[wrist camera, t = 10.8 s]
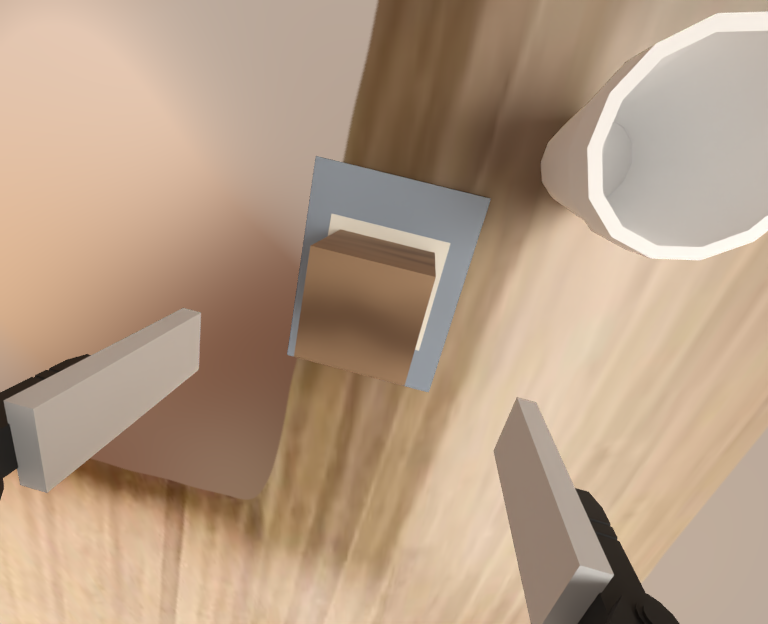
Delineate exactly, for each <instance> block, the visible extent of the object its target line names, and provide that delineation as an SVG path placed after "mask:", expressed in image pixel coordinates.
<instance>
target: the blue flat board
mask: <svg viewBox="0 0 768 624" xmlns="http://www.w3.org/2000/svg"><path fill="white" fill-rule="evenodd" d="M490 200H491V199H490V198H486V197H482V196H478V195H474V194H470V193H466V192H462V191H457V190H453V189H449V188H445V187H441V186H437V185H433V184H429V183H425V182H421V181H417V180H412V179H408V178H404V177H400V176H396V175H392V174H388V173H384V172H380V171H376V170H372V169H367V168H363V167H359V166H355V165H351V164H347V163H343V162H339V161H335V160H331V159H326V158H322V157H318V156H316V159H315V166H314V173H313V180H312V186H311V194H310V200H309V207H308V214H307V221H306V228H305V235H304V242H303V249H302V256H301V263H300V269H299V277H298V283H297V291H296V297H295V304H294V311H293V318H292V325H291V332H290V338H289V346H288V353H287V355H290V356H294V352H295V346H296V339H297V332H298V326H299V319H300V312H301V306H302V299H303V292H304V285H305V279H306V272H307V265H308V259H309V252H310V246H311V245H313V244H314V243H316V242H318V241H320V240H322V239H324V238H326V237H327V236H329V235H331V234H333V233H335V232H337V231H339V230H340V229H341V230H345V231H349V232H353V233H357V234H361V235H365V236H370V237H374V238H378V239H382V240H386V241H390V242H394V243H398V244H402V245H406V246H410V247H414V248H418V249H422V250H426V251H430V252H434V253H435V270H436V278H435V282H434V285H433V289H432V292H431V296H430V299H429V303H428V306H427V310H426V313H425V317H424V320H423V323H422V327H421V330H420V334H419V337H418V341H417V344H416V348H415V351H414V355H413V358H412V362H411V365H410V369H409V372H408V376H407V379H406V383H405V386H406V387H410V388H414V389H418V390H421V391H425V392H429V390H430V387H431V384H432V380H433V377H434V374H435V371H436V368H437V365H438V362H439V359H440V356H441V352H442V349H443V346H444V343H445V340H446V337H447V334H448V331H449V328H450V324H451V321H452V318H453V315H454V312H455V309H456V306H457V303H458V300H459V296H460V293H461V290H462V287H463V284H464V281H465V278H466V275H467V272H468V268H469V265H470V262H471V259H472V256H473V253H474V250H475V247H476V243H477V240H478V237H479V234H480V231H481V228H482V225H483V222H484V219H485V215H486V212H487V209H488V206H489V203H490ZM391 383H392V382H391Z"/></svg>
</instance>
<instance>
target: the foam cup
mask: <svg viewBox="0 0 768 624" xmlns="http://www.w3.org/2000/svg"><path fill="white" fill-rule="evenodd" d="M541 177H542V183H543V184H544V186H545V188H546V189H547V191H548V193H549V194H550V196H551V197H552V198H553V199H554V200H556V201H557V202H559V203H560V204H561V205H563V206H564V207H566V208H567V209H568V210H570V211H571V212H573V213H574V214H576V215H577V216H578V217H580V218H581V219H583V220H584V221H585V222H586V224H587V225H588V227H589V229H590V230H591V231H593V232H595V233H596V234H598V235H600V236H602V237H604V238H606V239H607V240H609V241H611V242H613V243H615V244H617V245H618V246H620V247H622V248H624V249H626V250H629V251H631V252H634V253H637V254H640V255H643V256H645V257H648V258H654V259H681V260H703V259H705V258H708V257H711V256H714V255H717V254H720V253H723V252H725V251H728V250H731V249H734V248H737V247H740V246H743V245H745V244H748V243H751V242H754V241H755V240H757V239H758V238H759V237H760V236H762V235H763V234H764V233H766V232H767V231H768V12H736V13H716V14H714V15H712V16H710V17H708V18H706V19H704V20H702V21H700V22H698V23H696V24H694V25H692V26H690V27H688V28H686V29H684V30H682V31H680V32H678V33H676V34H674V35H672V36H670V37H668V38H666V39H664V40H662V41H660V42H658V43H656V44H654V45H653V46H651V47H649V48H648V49H646V50H645V51H643V52H641V53H640V54H638V55H636V56H635V57H633V58H631V59H630V60H628V61H627V62H625V63H624V64H623V65H622V67H621V68H620V69H619V70H618V71H617V72H616V73H615V74H614V75H613V76H612V77H611V79H610V80H609V81H608V82H607V83H606V84H605V85H604V86H603V87H602V88H601V89H600V90H599V92H598V93H597V94H596V95H595V96H594V97H593V98H592V99H591V100H590V101H589V102H588V103H587V104H586V105H585V106H584V107H583V108H582V109H581V110H580V111H578V112H577V113H576V114H575V115H574V116H573V117H572V118H571V119H570V120H569V121H568V122H567V123H565V125H564V126H563V127H562V128H561V129H560V130H559V131H558V132H557V133H556V134H555V135H554V136H553V138H552V139H551V140H550V141H549V142H548V144H547V146H546V149H545V152H544V154H543V157H542V160H541Z"/></svg>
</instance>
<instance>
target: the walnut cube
mask: <svg viewBox="0 0 768 624" xmlns="http://www.w3.org/2000/svg"><path fill="white" fill-rule="evenodd" d="M435 278H436V270H435V253H434V252H430V251H426V250H422V249H418V248H414V247H410V246H406V245H402V244H398V243H394V242H390V241H386V240H382V239H378V238H374V237H370V236H365V235H361V234H357V233H353V232H349V231H345V230H341V229H340V230H339V231H337V232H335V233H333V234H331V235H329V236H327V237H326V238H324V239H322V240H320V241H318V242H316V243H314V244H313V245H311V246H310V252H309V259H308V265H307V272H306V279H305V285H304V292H303V299H302V306H301V312H300V319H299V326H298V332H297V339H296V346H295V352H294V357H297V358H301V359H304V360H308V361H312V362H316V363H320V364H323V365H327V366H331V367H335V368H338V369H342V370H346V371H350V372H354V373H357V374H361V375H365V376H369V377H373V378H376V379H380V380H384V381H388V382H392V383H395V384H399V385H403V386H405V383H406V379H407V376H408V372H409V369H410V365H411V362H412V358H413V355H414V351H415V348H416V344H417V341H418V337H419V334H420V330H421V327H422V323H423V320H424V317H425V313H426V310H427V306H428V303H429V299H430V296H431V292H432V289H433V285H434V282H435Z"/></svg>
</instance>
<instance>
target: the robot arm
mask: <svg viewBox="0 0 768 624" xmlns="http://www.w3.org/2000/svg"><path fill="white" fill-rule="evenodd" d="M200 323H201V312H197V311H193V310H189V309H186V308H182V309H180V310H178V311H176V312H174V313H172V314H170V315H169V316H167V317H165V318H163V319H161V320H159V321H157V322H155V323H153V324H151V325H149V326H147V327H145V328H143V329H141V330H140V331H138V332H136V333H134V334H132V335H130V336H128V337H126V338H124V339H122V340H120V341H118V342H116V343H114V344H112V345H111V346H109V347H107V348H105V349H103V350H101V351H99V352H97V353H95V354H93V355H88V354H86V355H83V356H79V357H75V358H72V359H68V360H65V361H63V362H61V363H59V364H57V365H55V366H53V367H51V368H50V369H49V370H45V371H43V372H41V373H39V374H37V375H35V377H34V378H33V377H31V378H29V379H27V380H25V381H23V382H21V383H19V384H17V385H15V386H13V387H11V388H9V389H7V390H5V391H3V392H0V499H1V496H2V493H3V490H4V483H3V478H4V477H5V476H7V475H8V474H10V473H11V472H12V471H14V470H15V469H17V471H18V476H19V481H20V485H22V486H25V487H29V488H32V489H35V490H39V491H42V492H46V493H48V492H49V491H50V490H51V489H52V488H54V487H55V486H56V485H57V484H59V483H60V482H61V481H62V480H64V479H65V478H66V477H67V476H68V475H70V474H71V473H72V472H73V471H75V470H76V469H77V468H78V467H80V466H81V465H82V464H83V463H84V462H86V461H87V460H88V459H89V458H91V457H92V456H93V455H94V454H95V453H97V452H98V451H99V450H100V449H102V448H103V447H104V446H105V445H106V444H108V443H109V442H110V441H111V440H113V439H114V438H115V437H116V436H118V435H119V434H120V433H121V432H123V431H124V430H125V429H126V428H128V427H129V426H130V425H131V424H133V423H134V422H135V421H136V420H137V419H139V418H140V417H141V416H142V415H144V414H145V413H146V412H147V411H148V410H150V409H151V408H152V407H153V406H155V405H156V404H157V403H158V402H160V401H161V400H162V399H163V398H165V397H166V396H167V395H168V394H169V393H171V392H172V391H173V390H174V389H176V388H177V387H178V386H179V385H180V384H182V383H183V382H184V381H185V380H187V379H188V378H189V377H190V376H192V375H193V374H194V373H195V372H197V371H198V370H199V351H200ZM494 455H495V459H496V464H497V469H498V473H499V478H500V483H501V487H502V492H503V496H504V501H505V506H506V510H507V515H508V520H509V524H510V529H511V534H512V538H513V543H514V547H515V552H516V557H517V561H518V566H519V571H520V575H521V580H522V584H523V589H524V594H525V598H526V603H527V608H528V612H529V617H530V622H531V624H679V623H678V621H677V620H676V618H675V617H674V616H673V614H672V613H670V612H669V611H668V610H667V609H666V608H665V607H664V606H663V605H662V604H661V603H660V602H659V601H657V600H656V599H654V598H653V597H651V596H650V595H648V594H646V593H645V591H644V589H643V587H642V585H641V583H640V581H639V579H638V577H637V575H636V573H635V571H634V569H633V567H632V565H631V563H630V561H629V560H628V558H627V556H626V554H625V552H624V550H623V548H622V546H621V544H620V542H619V541H617V536H616V534H615V532H614V530H613V528H612V527H610V522H609V520H608V518H607V516H606V514H605V512H604V510H603V508H602V507H601V506H600V505H599V503H598V502H597V501H596V500H595V499H594V498H593V497H592V495H591V494H590V493H589V492H587V491H583V490H580V489H576V488H575V487H574V485H573V483H572V481H571V478H570V476H569V474H568V472H567V470H566V467H565V465H564V463H563V461H562V459H561V456H560V454H559V452H558V450H557V447H556V445H555V443H554V441H553V439H552V436H551V434H550V432H549V430H548V428H547V425H546V423H545V421H544V419H543V416H542V414H541V412H540V410H539V408H538V405H537V403H536V402H533V401H529V400H526V399H522V398H518V397H517V398H516V400H515V403H514V405H513V407H512V410H511V412H510V414H509V417H508V419H507V421H506V424H505V426H504V428H503V430H502V433H501V435H500V437H499V440H498V442H497V444H496V447H495V449H494Z"/></svg>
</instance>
